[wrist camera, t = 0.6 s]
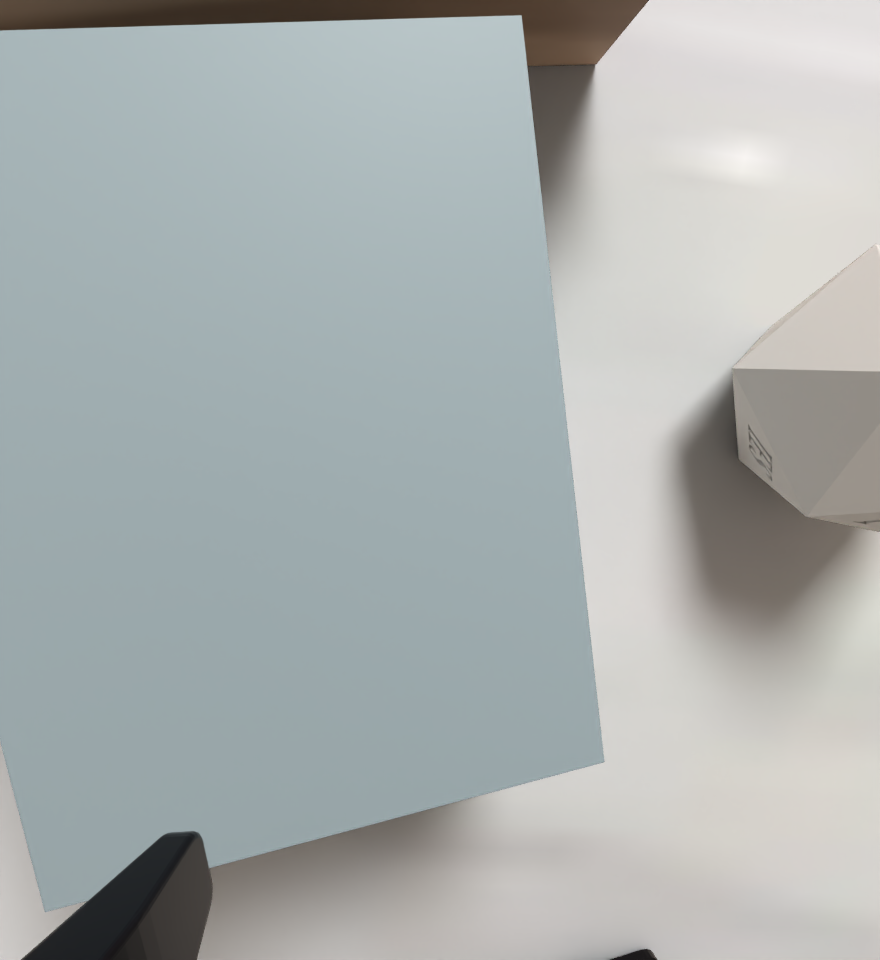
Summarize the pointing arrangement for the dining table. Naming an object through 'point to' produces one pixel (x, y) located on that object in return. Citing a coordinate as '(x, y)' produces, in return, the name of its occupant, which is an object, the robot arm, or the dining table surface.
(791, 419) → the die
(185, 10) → the walnut board
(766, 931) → the dining table surface
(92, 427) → the slate block
